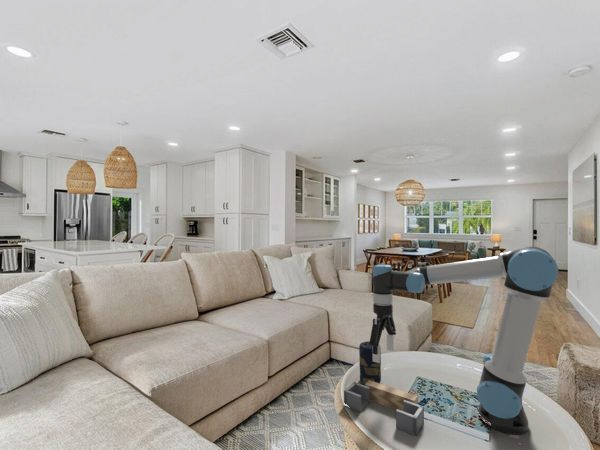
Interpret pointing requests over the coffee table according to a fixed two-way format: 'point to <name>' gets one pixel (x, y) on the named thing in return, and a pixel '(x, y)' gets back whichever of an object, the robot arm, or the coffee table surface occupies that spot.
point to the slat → (389, 395)
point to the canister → (368, 364)
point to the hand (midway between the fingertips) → (383, 355)
